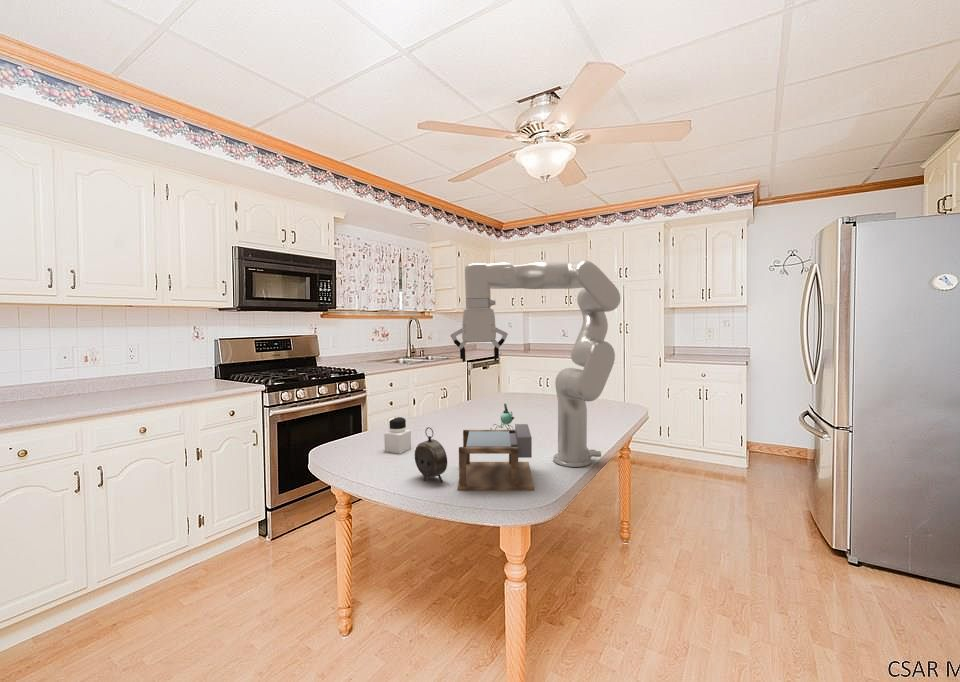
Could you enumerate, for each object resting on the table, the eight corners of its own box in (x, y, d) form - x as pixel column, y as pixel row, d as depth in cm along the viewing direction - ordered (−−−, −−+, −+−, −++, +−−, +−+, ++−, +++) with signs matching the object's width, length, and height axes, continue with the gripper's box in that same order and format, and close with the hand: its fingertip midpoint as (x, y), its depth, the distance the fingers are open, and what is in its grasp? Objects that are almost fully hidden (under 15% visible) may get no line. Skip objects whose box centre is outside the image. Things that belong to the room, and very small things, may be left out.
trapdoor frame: (528, 464, 148) (528, 429, 147) (534, 490, 127) (534, 449, 126) (462, 464, 149) (462, 429, 148) (457, 490, 128) (456, 449, 127)
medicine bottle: (411, 448, 167) (410, 417, 166) (400, 454, 160) (399, 421, 159) (395, 446, 170) (394, 415, 169) (384, 451, 163) (383, 419, 162)
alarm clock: (448, 481, 134) (447, 428, 133) (435, 486, 130) (434, 432, 129) (425, 472, 142) (424, 422, 141) (411, 477, 138) (410, 426, 137)
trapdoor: (527, 441, 145) (527, 423, 145) (531, 458, 129) (531, 437, 129) (469, 441, 146) (469, 423, 145) (466, 458, 130) (466, 437, 129)
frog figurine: (479, 435, 184) (483, 399, 183) (521, 437, 187) (525, 402, 187) (484, 441, 174) (488, 404, 174) (528, 443, 178) (532, 407, 177)
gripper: (506, 304, 138) (507, 359, 139) (450, 305, 138) (452, 360, 140) (507, 303, 130) (508, 362, 132) (448, 305, 131) (450, 363, 132)
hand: (479, 361), depth 136 cm, fingers open, 9 cm apart
